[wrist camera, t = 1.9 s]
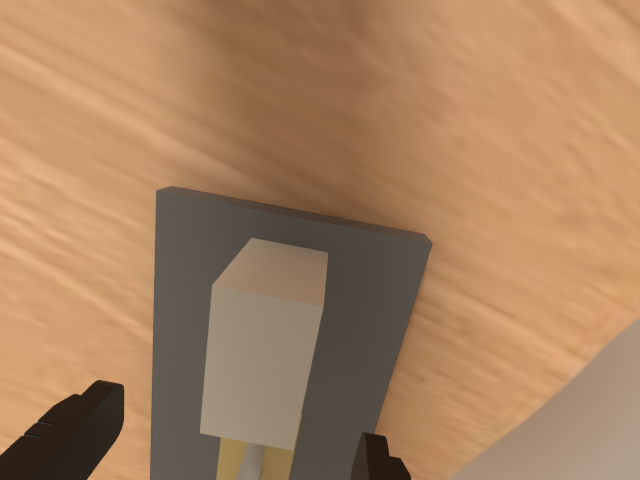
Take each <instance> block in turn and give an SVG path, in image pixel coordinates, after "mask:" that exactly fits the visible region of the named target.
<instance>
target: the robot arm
mask: <svg viewBox="0 0 640 480" xmlns="http://www.w3.org/2000/svg"><path fill="white" fill-rule="evenodd" d="M123 422H124V386H123V385H122V384H118V383H113V382H108V381H103V380H98V381H96V382H94V383H93V384H92V385H91V386H90V387H89V388H88V389H87V390H86V391H85V392H84V393H83V394H82V395H77V394H73V395H71V396H70V397H68V398H66V399H64V400H63V401H61V402H59V403H57V404H56V405H54V406H53V407H52V408H51V409H50V410H49V411H48V412H47V413H45V414H44V415H43V416H42V417H41V418H40V419H39V420H38V422H37V423H35V424H34V425H33V426H31V427H30V428H29V429H28V430H27V431H26V432H25V434H24V436H21V437H20V438H19V439H18V440H16V441H15V442H14V443H13V444H12V445H11V446H10V447H9V448H8V449H7V450H6V451H5V452H4V453H2V454H1V455H0V480H87V479H88V477H89V476H90V475H91V473H92V472H93V471H94V469H95V468H96V466H97V465H98V464H99V462H100V461H101V460H102V458H103V457H104V456H105V454H106V453H107V452H108V450H109V449H110V448H111V446H112V445H113V444H114V442H115V441H116V439H117V438H118V436H119V434H120V432H121V429H122V426H123ZM351 480H411V476H410V474H409V472H408V470H407V469H406V467H405V465H404V463H403V462H402V460H401V458H397V457H391V456H389V450H388V444H387V439H386V437H385V436H381V435H376V434H371V433H366V432H363V433H362V434H361V438H360V441H359V444H358V448H357V451H356V455H355V458H354V462H353V465H352V471H351Z"/></svg>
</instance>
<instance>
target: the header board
mask: <svg viewBox="0 0 640 480" xmlns="http://www.w3.org/2000/svg"><path fill="white" fill-rule="evenodd" d="M251 238H256V239H261V240H266V241H271V242H277V243H282V244H287V245H292V246H298V247H303V248H308V249H313V250H319V251H324V252H328V263H327V274H326V285H325V297H324V307H323V312H322V316H321V321H320V326H319V331H318V335H317V340H316V345H315V350H314V354H313V359H312V364H311V369H310V374H309V378H308V383H307V388H306V393H305V397H304V402H303V407H302V412H301V416H300V421H299V426H298V431H297V435H296V440H295V445H294V450H293V451H292V450H286V449H281V448H276V447H270V446H265V445H260V444H255V443H249V442H244V441H239V440H233V439H228V438H223V437H217V436H212V435H207V434H201V433H200V424H201V412H202V400H203V388H204V376H205V364H206V353H207V341H208V329H209V317H210V305H211V293H212V285H213V284H214V282H215V281H216V280H217V279H218V278H219V276H220V275H221V274H222V273H223V272H224V270H225V269H226V268H227V267H228V266H229V264H230V263H231V262H232V261H233V260H234V258H235V257H236V256H237V255H238V254H239V252H240V251H241V250H242V249H243V248H244V246H245V245H246V244H247V243H248V242H249V240H250V239H251ZM431 247H432V242H431V241H430V240H429V239H428V238H427V236H426V235H424V234H419V233H414V232H409V231H403V230H398V229H393V228H388V227H383V226H377V225H372V224H367V223H362V222H356V221H351V220H346V219H341V218H335V217H330V216H325V215H320V214H314V213H309V212H304V211H299V210H293V209H288V208H283V207H278V206H273V205H267V204H262V203H257V202H252V201H246V200H241V199H236V198H231V197H225V196H220V195H215V194H210V193H204V192H199V191H194V190H189V189H184V188H178V187H173V186H170V187H167V188H164V189H160V190H157V191H156V230H155V276H154V322H153V368H152V414H151V460H150V480H351V471H352V465H353V462H354V458H355V455H356V451H357V448H358V444H359V441H360V438H361V434H362V433H363V432H366V433H371V434H374V431H375V428H376V425H377V421H378V418H379V415H380V412H381V408H382V405H383V402H384V399H385V395H386V392H387V389H388V386H389V382H390V379H391V376H392V373H393V370H394V366H395V363H396V360H397V357H398V353H399V350H400V347H401V344H402V340H403V337H404V334H405V331H406V328H407V324H408V321H409V318H410V315H411V311H412V308H413V305H414V302H415V298H416V295H417V292H418V289H419V285H420V282H421V279H422V276H423V273H424V269H425V266H426V263H427V260H428V256H429V253H430V250H431Z"/></svg>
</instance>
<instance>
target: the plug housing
mask: <svg viewBox="0 0 640 480" xmlns="http://www.w3.org/2000/svg"><path fill="white" fill-rule="evenodd" d="M327 263H328V252H324V251H319V250H313V249H308V248H303V247H298V246H292V245H287V244H282V243H277V242H271V241H266V240H261V239H256V238H251V239H250V240H249V242H248V243H247V244H246V245H245V246H244V248H243V249H242V250H241V251H240V252H239V254H238V255H237V256H236V257H235V258H234V260H233V261H232V262H231V263H230V264H229V266H228V267H227V268H226V269H225V270H224V272H223V273H222V274H221V275H220V276H219V278H218V279H217V280H216V281H215V282H214V284H213V285H212V293H211V305H210V317H209V329H208V341H207V353H206V364H205V376H204V388H203V400H202V412H201V424H200V433H201V434H207V435H212V436H217V437H223V438H228V439H233V440H239V441H244V442H249V443H255V444H260V445H265V446H270V447H276V448H281V449H286V450H292V451H293V450H294V445H295V440H296V435H297V431H298V426H299V421H300V416H301V412H302V407H303V402H304V397H305V393H306V388H307V383H308V378H309V374H310V369H311V364H312V359H313V354H314V350H315V345H316V340H317V335H318V331H319V326H320V321H321V316H322V312H323V307H324V297H325V285H326V274H327Z"/></svg>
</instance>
